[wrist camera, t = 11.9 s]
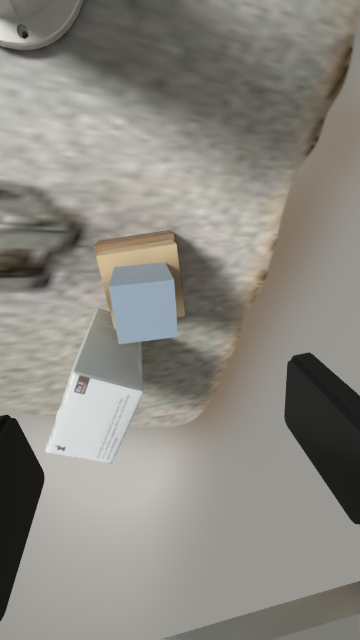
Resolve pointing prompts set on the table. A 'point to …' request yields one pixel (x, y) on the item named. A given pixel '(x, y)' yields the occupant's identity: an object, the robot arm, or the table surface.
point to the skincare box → (99, 395)
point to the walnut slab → (133, 240)
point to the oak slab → (142, 255)
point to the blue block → (143, 302)
